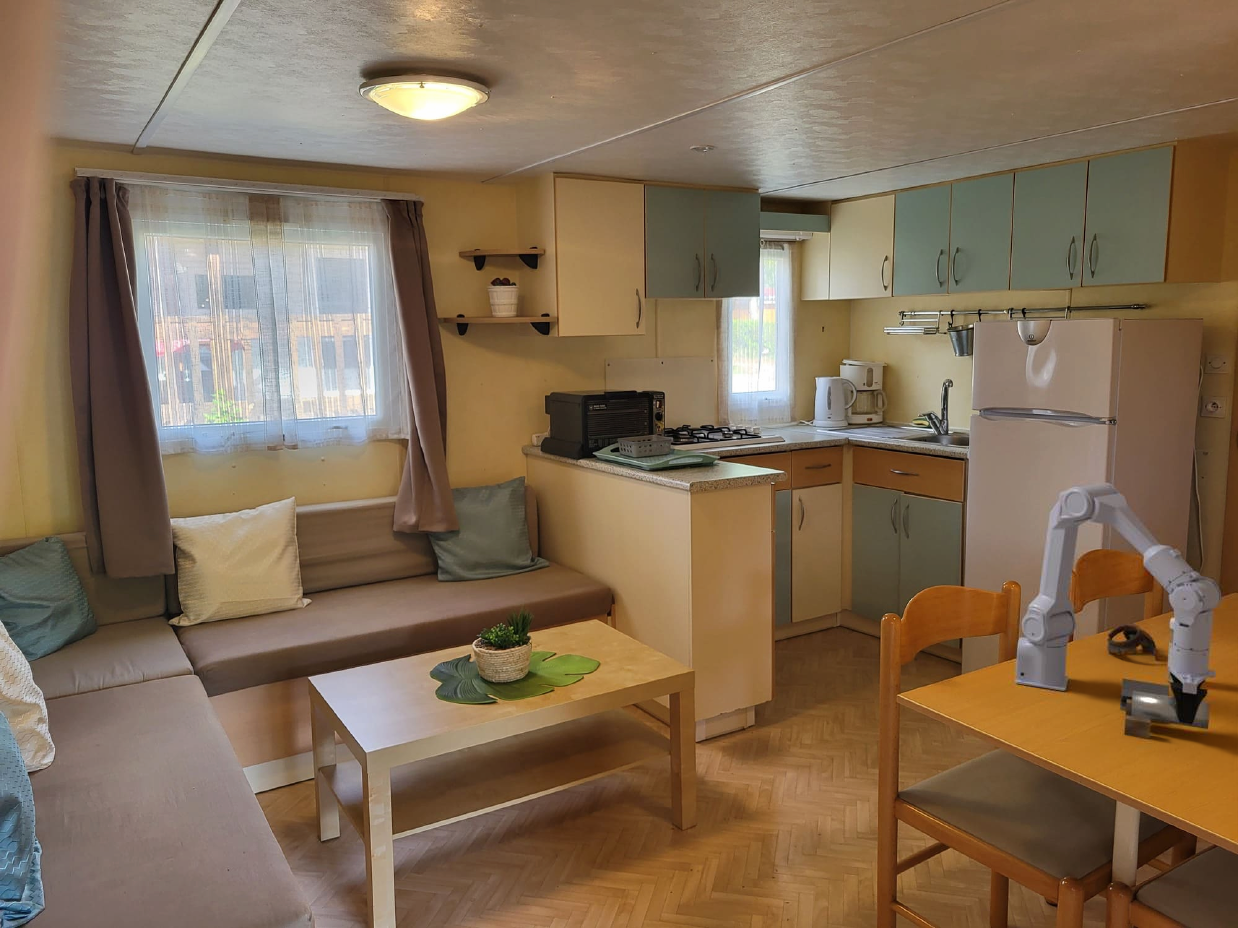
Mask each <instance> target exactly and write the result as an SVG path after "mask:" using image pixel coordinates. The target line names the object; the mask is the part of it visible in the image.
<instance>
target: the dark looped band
mask: <svg viewBox="0 0 1238 928" xmlns="http://www.w3.org/2000/svg"><path fill="white" fill-rule="evenodd" d="M1120 633H1122V634H1123V636H1124V638H1125V639H1126V640H1123V641H1116V640H1113V638H1114V637H1116V636H1117V635H1119V634H1120ZM1107 636H1108V638H1107V639H1106V641H1107V646H1106V648H1107V652H1108V654H1109V655H1111V654H1113V653H1114V654H1122V653H1123V654H1127V653H1129V652H1130V653H1135V654H1138V651H1137V649H1138V647H1141V651H1142V653H1143V652H1144V653H1145V654H1151V655H1153V656H1154V660H1156V661H1155V662H1158V661H1159V656H1158V649H1157V646H1156V643H1155V641H1154V639H1153V637H1152V636H1151V635H1150V634H1149V632H1147V631H1145V630H1144V629H1142V628H1141V627H1140V626H1139V625H1137V624H1135V623H1133V622H1132V623H1125V624H1120V625H1117V626H1116V627H1114V628H1112V629H1111V630H1110V631H1109V632H1108V634H1107Z"/></svg>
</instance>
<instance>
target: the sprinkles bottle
mask: <svg viewBox="0 0 1238 928" xmlns="http://www.w3.org/2000/svg"><path fill="white" fill-rule="evenodd" d="M1169 620H1170V621H1169V629H1170V633H1169V642H1168V643H1169V644H1168V654H1167V655H1168V656H1167V675H1166V681H1167V682H1168V683H1170V682H1173V679H1172V677H1171V675H1170V670H1169V668H1170V665H1171V659H1172V646H1173V634H1174V622H1175V618H1174V617H1171V618H1170V619H1169Z"/></svg>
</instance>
